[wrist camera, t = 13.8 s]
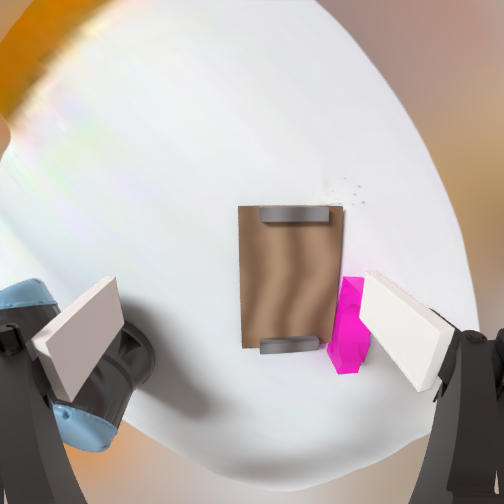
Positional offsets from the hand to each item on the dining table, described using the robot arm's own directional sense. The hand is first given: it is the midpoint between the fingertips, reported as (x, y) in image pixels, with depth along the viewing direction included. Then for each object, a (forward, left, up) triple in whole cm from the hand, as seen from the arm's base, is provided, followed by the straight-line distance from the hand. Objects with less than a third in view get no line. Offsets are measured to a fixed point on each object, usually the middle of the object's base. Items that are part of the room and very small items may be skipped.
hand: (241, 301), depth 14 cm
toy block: (+19, -17, -29) cm, 39 cm away
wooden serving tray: (+8, -10, -29) cm, 31 cm away
